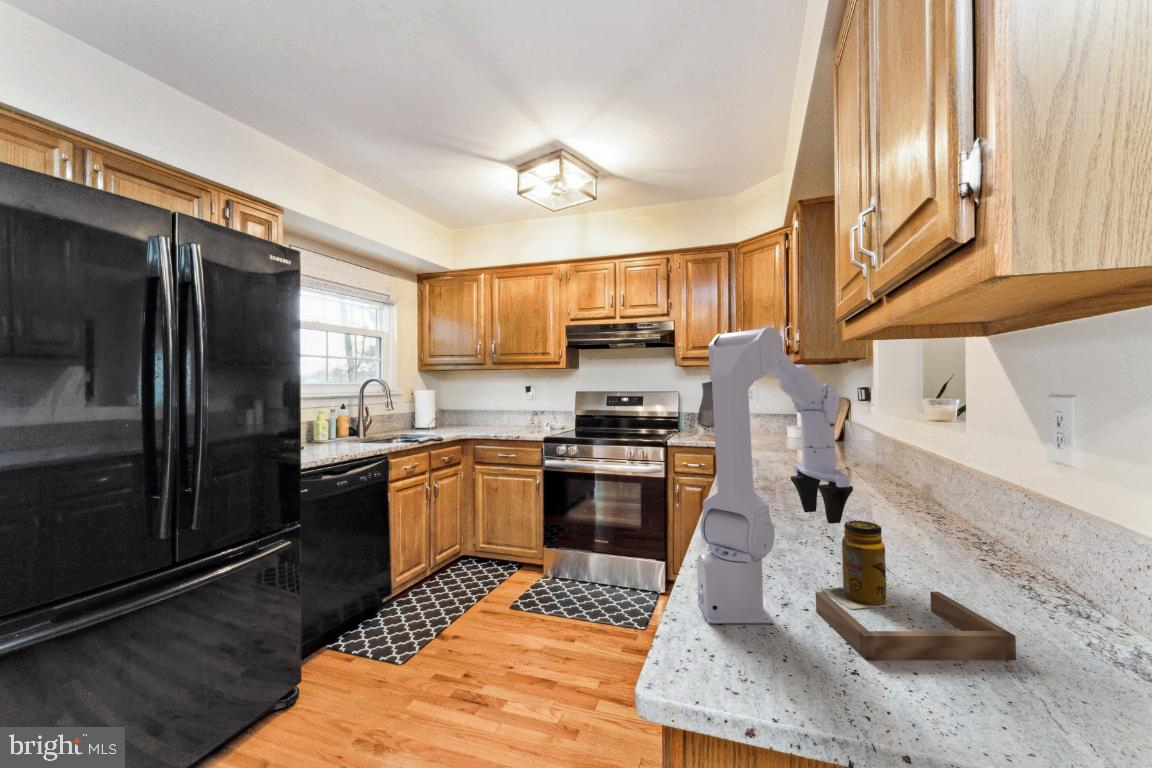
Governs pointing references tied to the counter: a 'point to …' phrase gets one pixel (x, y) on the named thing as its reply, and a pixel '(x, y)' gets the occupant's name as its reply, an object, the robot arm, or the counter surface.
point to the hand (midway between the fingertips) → (821, 517)
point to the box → (924, 635)
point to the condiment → (862, 567)
